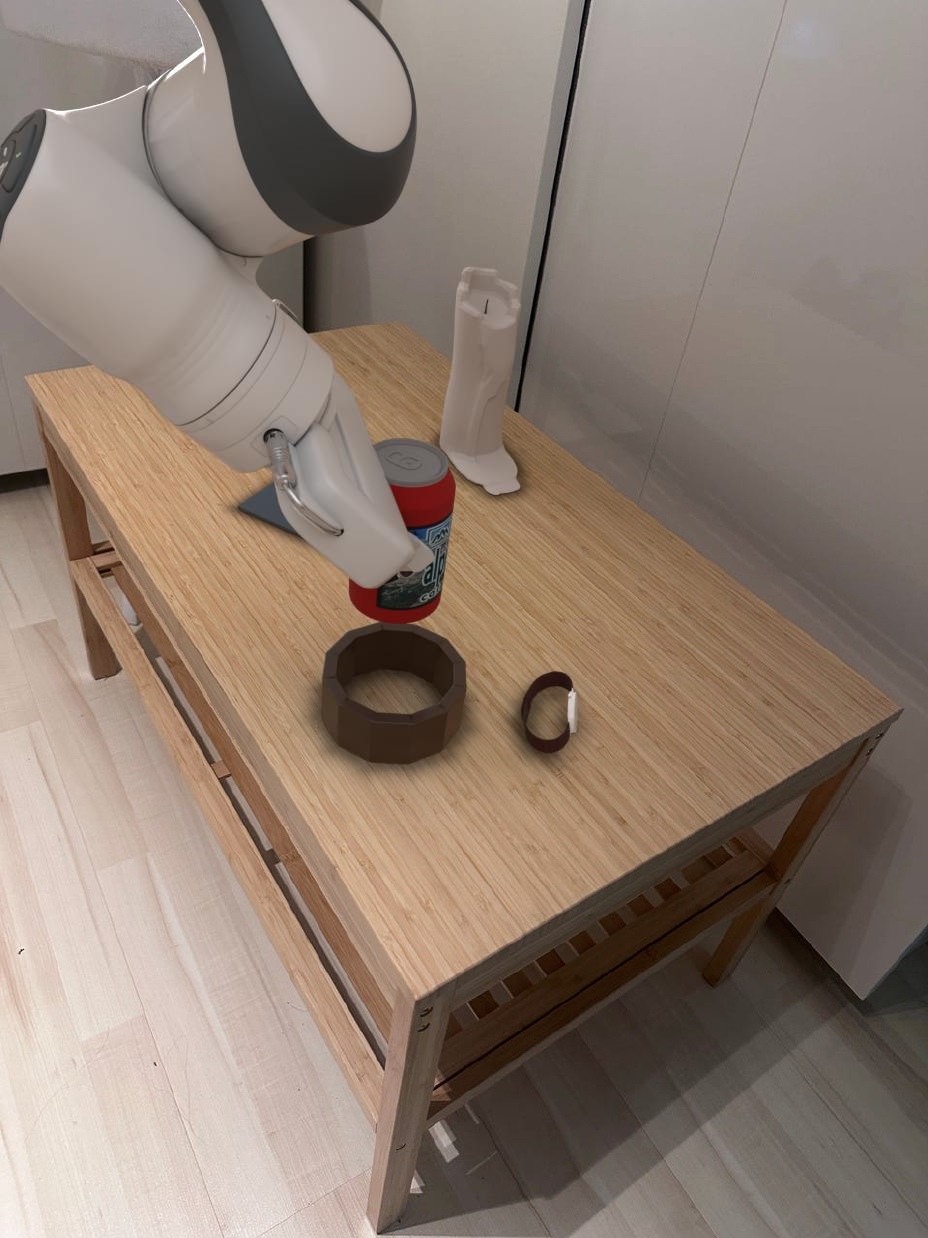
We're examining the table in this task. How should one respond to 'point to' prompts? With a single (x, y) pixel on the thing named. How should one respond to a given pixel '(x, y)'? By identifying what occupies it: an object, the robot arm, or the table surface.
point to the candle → (481, 379)
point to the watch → (566, 682)
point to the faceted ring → (393, 731)
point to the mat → (267, 508)
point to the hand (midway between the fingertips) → (410, 523)
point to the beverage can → (424, 509)
